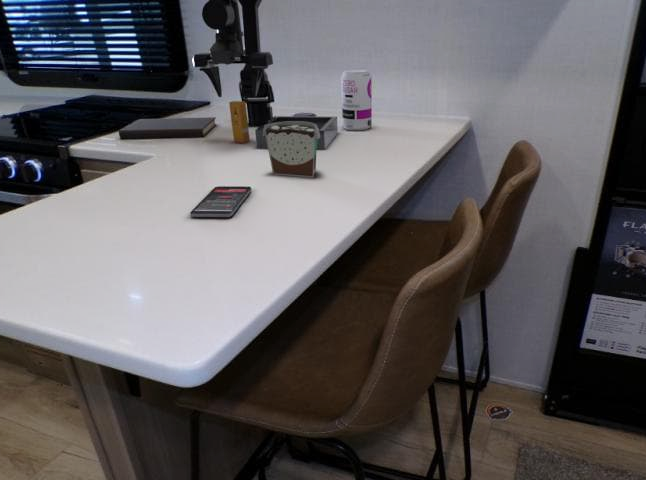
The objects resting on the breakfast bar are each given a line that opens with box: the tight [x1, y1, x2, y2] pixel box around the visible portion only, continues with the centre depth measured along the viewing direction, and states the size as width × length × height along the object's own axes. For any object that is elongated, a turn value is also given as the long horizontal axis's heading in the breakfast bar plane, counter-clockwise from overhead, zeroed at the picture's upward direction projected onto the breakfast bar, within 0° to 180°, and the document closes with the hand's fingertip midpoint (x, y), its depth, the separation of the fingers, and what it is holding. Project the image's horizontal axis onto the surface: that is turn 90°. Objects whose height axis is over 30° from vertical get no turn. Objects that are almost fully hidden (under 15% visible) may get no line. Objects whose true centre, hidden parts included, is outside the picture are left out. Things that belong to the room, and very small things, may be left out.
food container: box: [263, 121, 320, 179], centre depth 110 cm, size 12×6×10 cm, turn 71°
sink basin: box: [254, 115, 339, 150], centre depth 136 cm, size 17×17×4 cm
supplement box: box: [228, 100, 251, 144], centre depth 135 cm, size 3×3×10 cm
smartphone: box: [189, 185, 252, 219], centre depth 95 cm, size 7×1×15 cm
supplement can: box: [340, 68, 373, 132], centre depth 145 cm, size 8×8×15 cm
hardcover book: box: [118, 116, 218, 140], centre depth 149 cm, size 16×23×2 cm
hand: (237, 97), depth 132 cm, fingers open, 9 cm apart
